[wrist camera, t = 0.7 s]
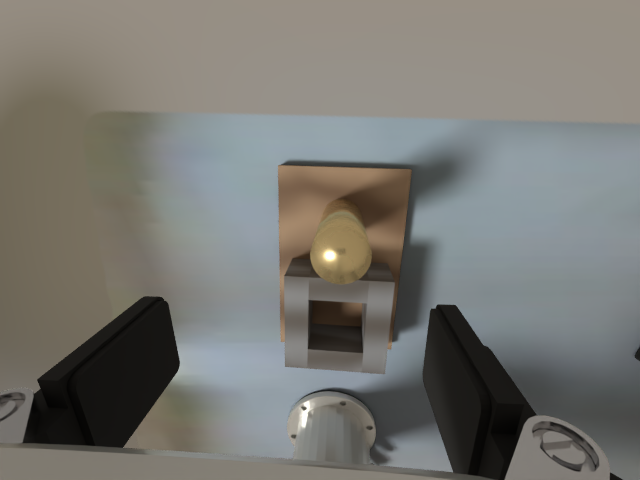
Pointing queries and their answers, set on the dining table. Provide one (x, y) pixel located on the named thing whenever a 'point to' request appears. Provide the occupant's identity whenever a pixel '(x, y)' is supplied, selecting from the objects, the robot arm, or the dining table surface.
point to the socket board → (375, 215)
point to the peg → (341, 244)
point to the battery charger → (638, 355)
